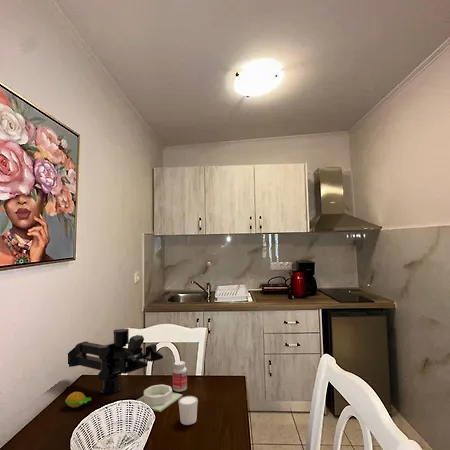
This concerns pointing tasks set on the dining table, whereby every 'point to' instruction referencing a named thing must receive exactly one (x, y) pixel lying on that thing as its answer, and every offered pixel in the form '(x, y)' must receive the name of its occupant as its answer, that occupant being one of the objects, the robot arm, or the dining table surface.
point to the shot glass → (188, 409)
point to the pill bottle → (179, 376)
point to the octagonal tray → (159, 397)
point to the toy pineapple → (76, 399)
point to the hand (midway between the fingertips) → (155, 360)
